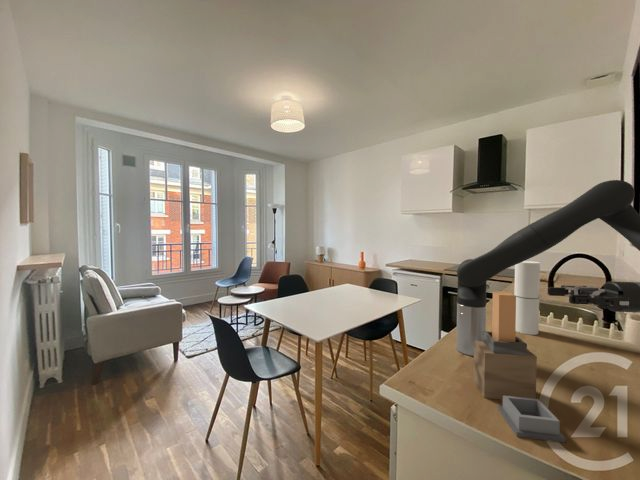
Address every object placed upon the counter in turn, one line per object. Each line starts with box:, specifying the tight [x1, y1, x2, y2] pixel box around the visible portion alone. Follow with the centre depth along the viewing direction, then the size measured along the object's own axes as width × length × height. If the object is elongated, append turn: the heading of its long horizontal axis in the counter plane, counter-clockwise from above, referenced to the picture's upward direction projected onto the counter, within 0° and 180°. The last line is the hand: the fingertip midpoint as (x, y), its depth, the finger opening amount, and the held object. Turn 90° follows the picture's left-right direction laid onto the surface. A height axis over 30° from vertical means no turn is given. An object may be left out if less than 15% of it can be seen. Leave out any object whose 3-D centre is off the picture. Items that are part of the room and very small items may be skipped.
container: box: [513, 260, 541, 336], centre depth 117 cm, size 9×9×30 cm
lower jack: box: [497, 396, 566, 443], centre depth 62 cm, size 9×9×4 cm
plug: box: [491, 291, 517, 342], centre depth 74 cm, size 4×4×15 cm
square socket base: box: [472, 330, 538, 400], centre depth 74 cm, size 8×12×15 cm, turn 79°
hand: (558, 295), depth 71 cm, fingers open, 8 cm apart
